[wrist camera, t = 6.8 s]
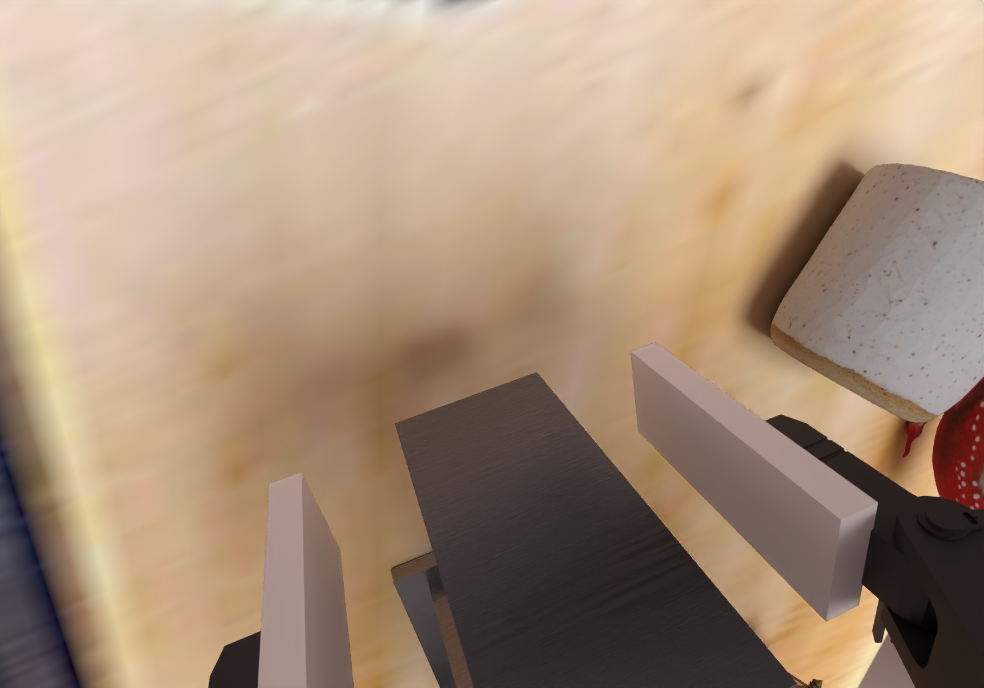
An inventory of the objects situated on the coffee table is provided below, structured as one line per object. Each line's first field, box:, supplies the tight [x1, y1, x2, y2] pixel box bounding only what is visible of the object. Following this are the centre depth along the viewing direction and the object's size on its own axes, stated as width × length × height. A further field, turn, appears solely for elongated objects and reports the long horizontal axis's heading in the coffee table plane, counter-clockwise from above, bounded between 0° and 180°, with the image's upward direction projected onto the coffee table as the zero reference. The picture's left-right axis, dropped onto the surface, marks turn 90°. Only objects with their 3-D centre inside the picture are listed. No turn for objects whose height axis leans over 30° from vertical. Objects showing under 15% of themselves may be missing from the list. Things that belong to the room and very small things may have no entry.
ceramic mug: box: [770, 163, 984, 423], centre depth 23 cm, size 11×8×8 cm
